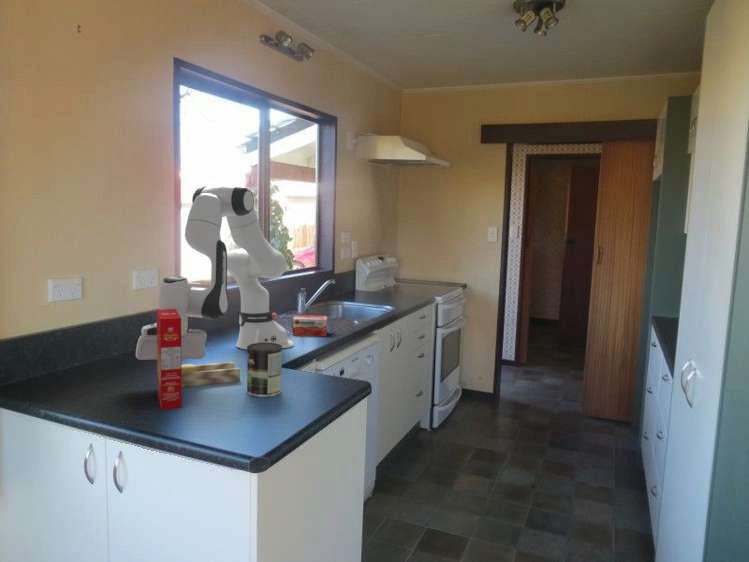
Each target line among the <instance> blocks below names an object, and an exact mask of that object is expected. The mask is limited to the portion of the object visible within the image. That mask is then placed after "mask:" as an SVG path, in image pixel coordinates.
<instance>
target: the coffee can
mask: <svg viewBox="0 0 749 562" xmlns="http://www.w3.org/2000/svg"><path fill="white" fill-rule="evenodd" d="M282 349H283V348H282V346H281V345H279V344H276V343H254V344H250V345H248V346H247V349H246V350H247V361H246V362H247V368H246V369H247V373H246V375H247V380H246V381H247V382H246V385H247V386H246V388H247V389H246V393H247V394H248V395H249V396H253V397H257V398H269V397H275V396H278V395H280V394H281V392H282V354H283V353H282Z"/></svg>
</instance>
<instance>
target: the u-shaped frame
mask: <svg viewBox="0 0 749 562" xmlns="http://www.w3.org/2000/svg"><path fill="white" fill-rule="evenodd" d="M193 365H194V364H193ZM194 367H195V372H187V373H182V388H184V387H194V386H196V387H197V386H205V385H212V384H213V385H214V384H222V383H233V382H241V368H240V367H235V362H234V361H227V362H219V363H206V364H205V363H204V364H196V365H194Z"/></svg>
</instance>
